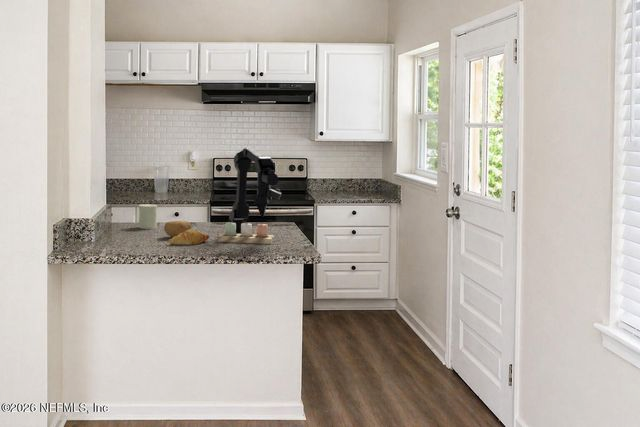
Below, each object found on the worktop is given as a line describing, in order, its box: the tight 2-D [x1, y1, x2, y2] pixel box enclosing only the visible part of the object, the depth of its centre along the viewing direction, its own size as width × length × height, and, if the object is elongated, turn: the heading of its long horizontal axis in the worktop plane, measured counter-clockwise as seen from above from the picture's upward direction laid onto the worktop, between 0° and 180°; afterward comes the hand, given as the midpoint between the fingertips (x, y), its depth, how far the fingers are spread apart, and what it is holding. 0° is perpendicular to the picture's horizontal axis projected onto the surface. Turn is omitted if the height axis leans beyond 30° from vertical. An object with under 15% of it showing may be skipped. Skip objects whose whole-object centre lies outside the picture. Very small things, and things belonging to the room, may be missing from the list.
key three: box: [256, 223, 269, 237], centre depth 380 cm, size 5×5×6 cm
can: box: [138, 203, 158, 230], centre depth 411 cm, size 9×9×12 cm
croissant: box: [168, 228, 210, 246], centre depth 368 cm, size 21×10×8 cm
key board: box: [217, 232, 275, 245], centre depth 380 cm, size 25×11×2 cm, turn 87°
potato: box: [163, 220, 192, 238], centre depth 384 cm, size 10×14×8 cm
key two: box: [241, 222, 253, 236], centre depth 380 cm, size 5×5×6 cm
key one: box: [224, 222, 237, 236], centre depth 380 cm, size 5×5×6 cm
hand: (262, 216), depth 379 cm, fingers closed
